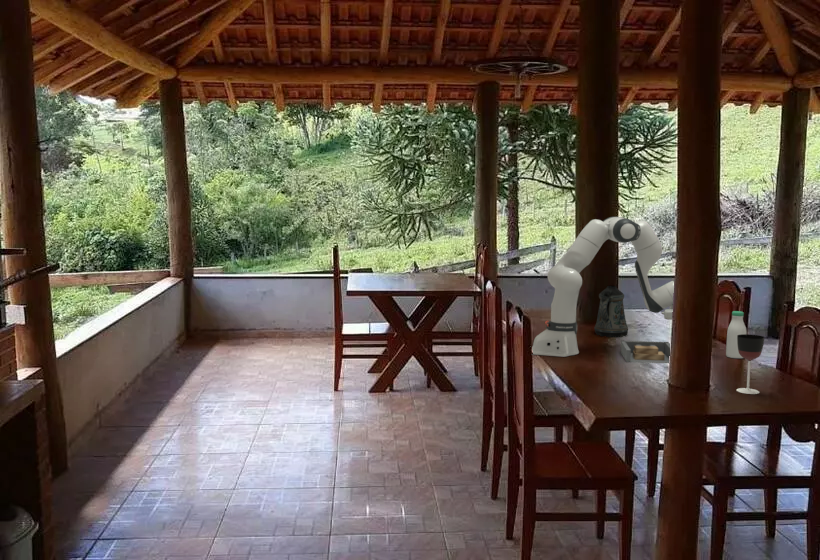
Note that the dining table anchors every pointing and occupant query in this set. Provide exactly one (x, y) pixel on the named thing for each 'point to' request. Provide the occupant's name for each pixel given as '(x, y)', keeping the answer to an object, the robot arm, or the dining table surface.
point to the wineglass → (749, 354)
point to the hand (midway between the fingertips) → (692, 317)
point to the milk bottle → (735, 334)
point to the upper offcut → (645, 349)
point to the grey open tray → (628, 346)
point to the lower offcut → (649, 356)
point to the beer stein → (611, 314)
